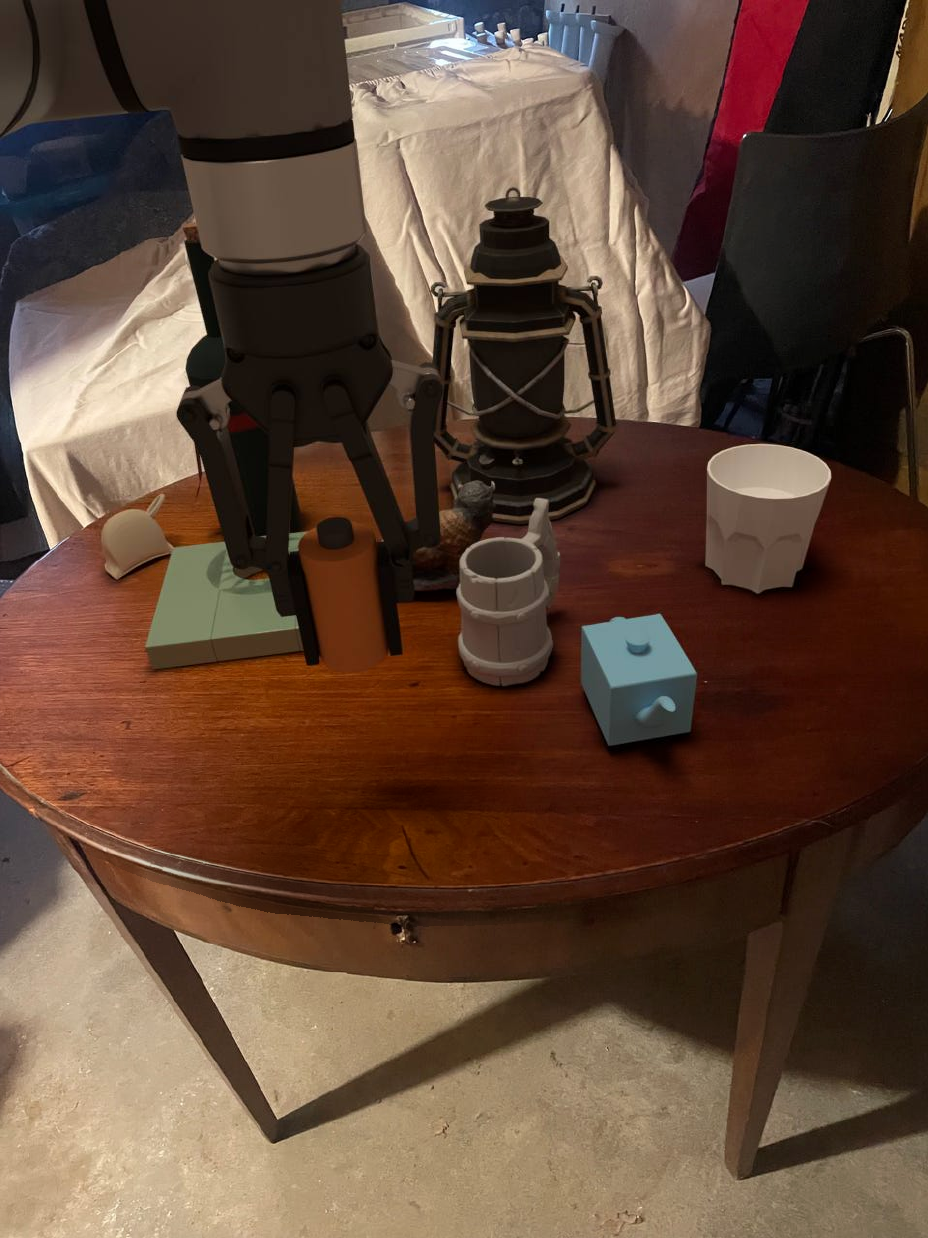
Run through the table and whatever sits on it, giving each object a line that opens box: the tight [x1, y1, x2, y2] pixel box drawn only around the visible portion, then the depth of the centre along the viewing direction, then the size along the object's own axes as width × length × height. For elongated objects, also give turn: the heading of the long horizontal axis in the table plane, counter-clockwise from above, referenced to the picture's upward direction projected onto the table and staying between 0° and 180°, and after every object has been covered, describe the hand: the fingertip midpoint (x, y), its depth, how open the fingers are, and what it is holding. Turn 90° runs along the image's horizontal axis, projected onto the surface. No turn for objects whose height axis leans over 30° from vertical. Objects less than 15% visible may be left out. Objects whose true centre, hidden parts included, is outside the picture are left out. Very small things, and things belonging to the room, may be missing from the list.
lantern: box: [430, 186, 619, 526], centre depth 87 cm, size 20×16×30 cm
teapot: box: [580, 613, 698, 747], centre depth 63 cm, size 12×6×8 cm, turn 10°
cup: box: [704, 443, 832, 595], centre depth 78 cm, size 10×10×10 cm
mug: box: [455, 498, 561, 687], centre depth 70 cm, size 8×12×12 cm, turn 145°
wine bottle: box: [182, 221, 304, 536], centre depth 83 cm, size 8×10×30 cm
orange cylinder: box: [298, 516, 390, 674], centre depth 52 cm, size 4×4×9 cm
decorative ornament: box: [100, 493, 174, 581], centre depth 88 cm, size 4×8×5 cm, turn 133°
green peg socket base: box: [144, 530, 310, 671], centre depth 81 cm, size 18×16×2 cm
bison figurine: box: [380, 481, 496, 592], centre depth 79 cm, size 12×7×10 cm, turn 91°
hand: (354, 646), depth 54 cm, fingers closed on orange cylinder, 4 cm apart
